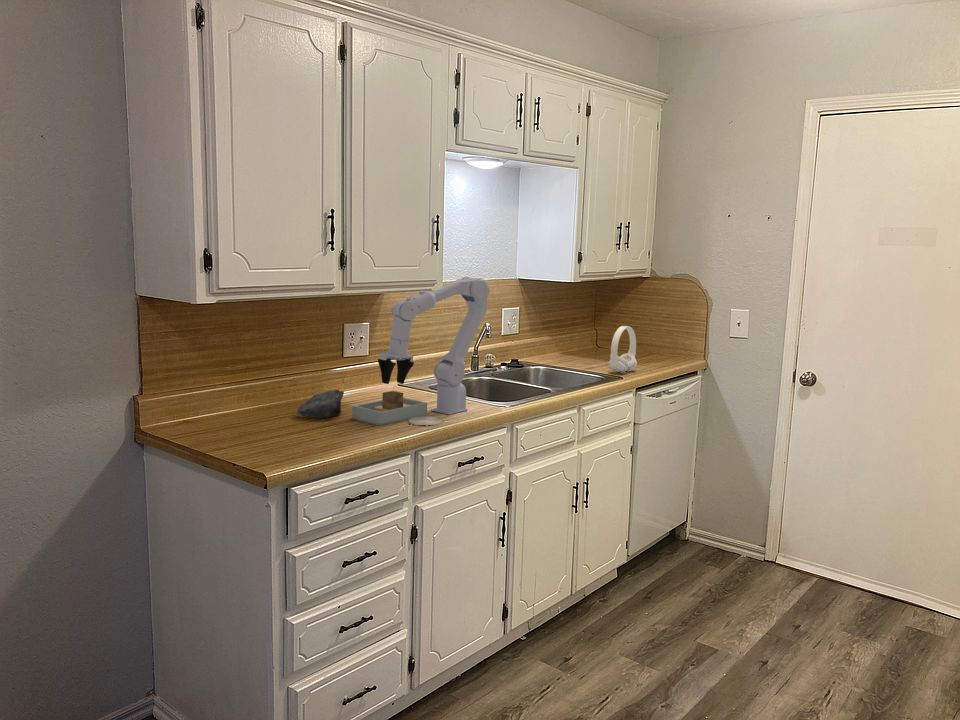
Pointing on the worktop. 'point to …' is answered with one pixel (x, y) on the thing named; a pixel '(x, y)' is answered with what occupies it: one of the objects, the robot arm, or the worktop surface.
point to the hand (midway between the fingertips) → (392, 383)
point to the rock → (322, 405)
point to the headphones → (625, 360)
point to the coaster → (425, 420)
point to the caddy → (388, 412)
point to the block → (392, 400)
